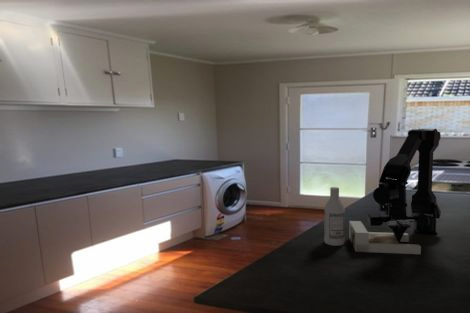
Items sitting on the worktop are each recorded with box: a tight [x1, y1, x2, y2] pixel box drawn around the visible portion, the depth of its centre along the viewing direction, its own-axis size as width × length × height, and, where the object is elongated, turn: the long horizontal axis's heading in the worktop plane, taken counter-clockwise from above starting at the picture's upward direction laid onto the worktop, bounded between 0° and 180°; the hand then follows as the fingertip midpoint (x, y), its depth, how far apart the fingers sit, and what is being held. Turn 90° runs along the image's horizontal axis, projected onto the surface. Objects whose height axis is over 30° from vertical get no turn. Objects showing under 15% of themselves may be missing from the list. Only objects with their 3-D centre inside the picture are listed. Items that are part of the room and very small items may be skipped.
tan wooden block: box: [354, 234, 400, 244], centre depth 120 cm, size 13×8×3 cm, turn 80°
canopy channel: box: [348, 220, 422, 255], centre depth 120 cm, size 20×14×6 cm
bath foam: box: [323, 186, 346, 247], centre depth 123 cm, size 7×7×20 cm
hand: (397, 243), depth 119 cm, fingers closed
